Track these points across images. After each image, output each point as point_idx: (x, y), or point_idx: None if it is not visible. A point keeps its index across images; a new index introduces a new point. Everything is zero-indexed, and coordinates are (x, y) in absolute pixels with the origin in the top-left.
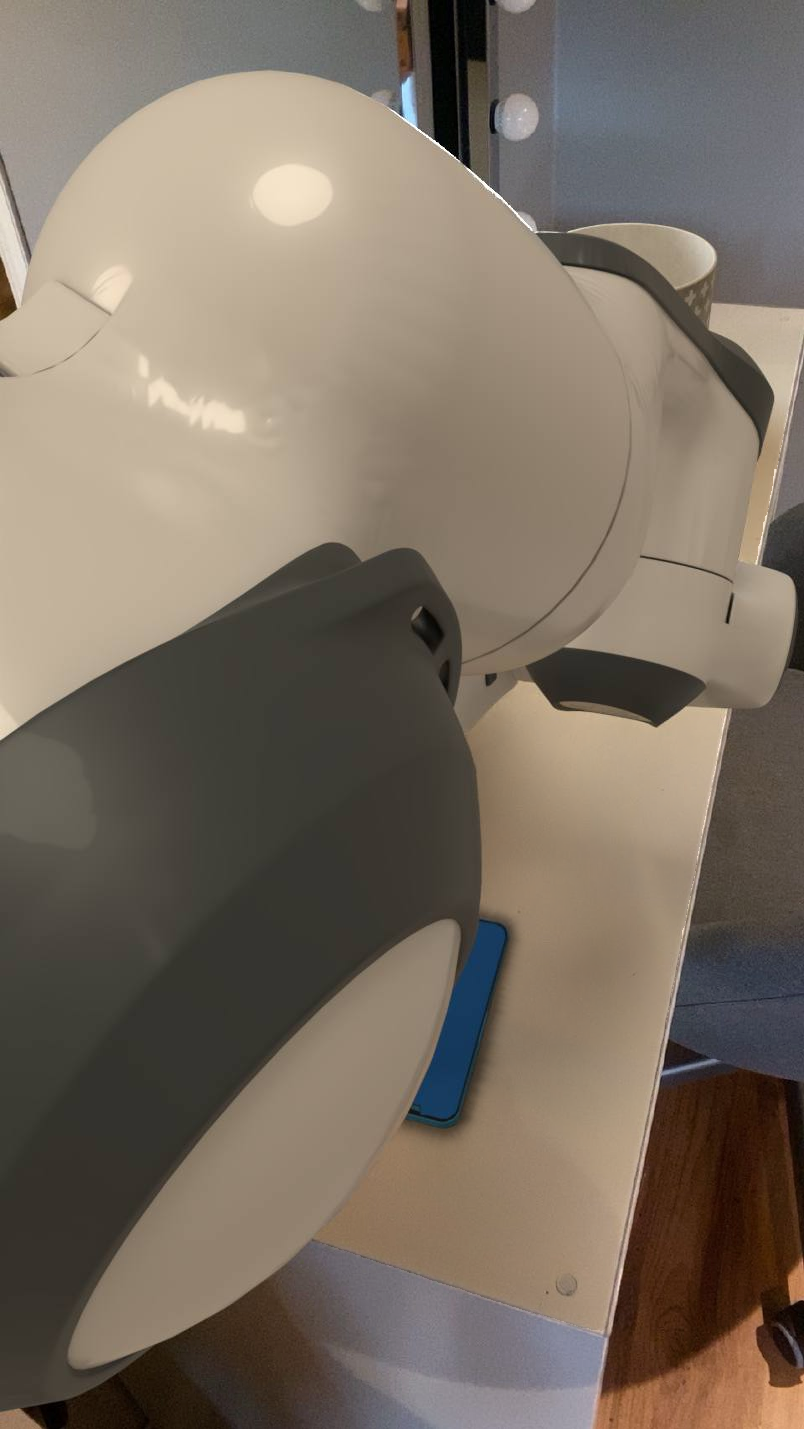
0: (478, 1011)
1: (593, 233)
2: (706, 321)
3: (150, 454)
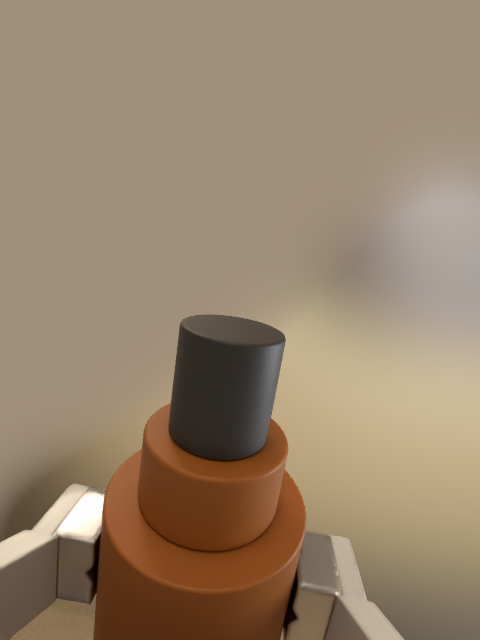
0: None
1: None
2: None
3: None
